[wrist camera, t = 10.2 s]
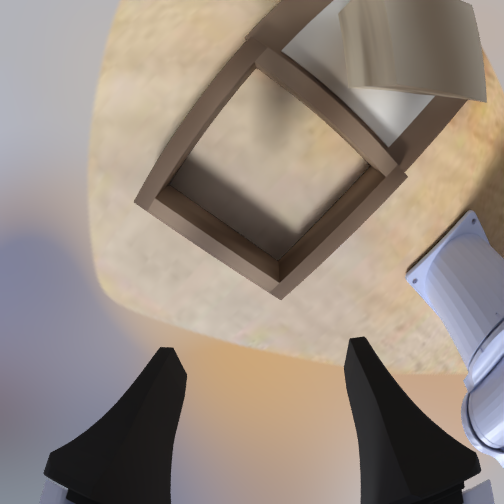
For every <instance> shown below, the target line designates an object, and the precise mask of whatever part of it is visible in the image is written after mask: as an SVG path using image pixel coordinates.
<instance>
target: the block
mask: <svg viewBox="0 0 504 504" xmlns="http://www.w3.org/2000/svg"><path fill="white" fill-rule="evenodd" d="M338 16H339V22H340V27H341V33H342V40H343V46H344V54H345V61H346V69H347V79H348V88H357V89H374V90H387V91H397V92H405V93H413V94H420V95H433V96H444V97H453V98H461V99H468V100H474V101H480V102H486V103H487V98H486V82H485V71H484V63H483V55H482V49H481V43H480V37H479V32H478V28H477V23H476V19H475V15H474V11H473V8H472V5H470V4H468V3H466V2H463V1H461V0H351V1H350V2H349V3H348V4H347V5H346V6H345V7H344V8H343V9H342V10H341V11H340V12H339V13H338Z"/></svg>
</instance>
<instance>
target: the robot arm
mask: <svg viewBox="0 0 504 504" xmlns="http://www.w3.org/2000/svg"><path fill="white" fill-rule="evenodd" d="M472 220H473V221H472ZM405 278H406V280H407V282H408V283H409V284H410V285H411V286H412V287H413V288H414V289H415V290H416V291H417V293H418V294H419V295H420V296H421V297H422V298H423V299H424V300H425V301H426V303H427V304H428V305H429V306H430V307H431V308H432V309H433V310H434V312H435V313H436V314H437V315H438V316H439V317H440V319H441V320H442V322H443V323H444V325H445V327H446V329H447V331H448V332H449V334H450V336H451V338H452V340H453V342H454V344H455V345H456V347H457V349H458V351H459V353H460V355H461V357H462V359H463V361H464V363H465V365H466V367H467V370H468V372H469V373H468V375H467V376H466V378H465V379H464V383H465V385H466V388H467V390H468V392H467V393H466V395H465V397H464V399H463V403H462V408H461V418H462V425H463V428H464V431H465V434H466V436H467V438H468V439H469V441H470V442H471V444H472V445H473V446H474V447H475V448H476V449H477V450H479V451H480V452H482V453H485V454H488V455H490V456H492V457H494V458H495V459H496V460H497V461H498V462H499V463H500V464H501V466H502V467H503V468H504V259H503V258H502V257H501V256H500V255H499V254H498V253H497V252H496V251H495V250H494V249H493V248H492V247H491V246H490V243H489V241H488V239H487V237H486V234H485V232H484V230H483V228H482V226H481V224H480V222H479V220H478V217H477V215H476V214H475V212H474V211H473V210H468V211H467V212H466V213H465V215H464V216H463V217H462V218H461V219H460V220H459V221H458V222H457V223H456V225H455V226H454V227H453V228H452V229H451V230H450V231H449V232H448V233H447V234H446V235H445V236H444V237H443V238H442V239H441V240H440V241H439V242H438V243H437V244H436V245H435V246H434V247H433V248H432V249H431V250H430V251H429V252H428V253H427V254H426V255H425V256H424V257H423V258H422V259H421V260H420V261H419V262H418V263H417V264H416V265H415V266H414V267H413V268H412V269H411V270H409V271H408V272H407V274H406V276H405ZM415 278H416V279H415ZM413 279H415V280H413ZM344 373H345V380H346V388H347V393H348V397H349V401H350V406H351V410H352V413H353V418H354V422H355V427H356V431H357V437H358V444H359V455H360V470H361V504H494V498H493V493H492V487H491V482H490V480H486V481H484V482H482V483H480V484H479V485H477V486H475V487H473V488H471V489H468V490H466V491H463V492H462V490H461V489H463V488H464V487H465V486H464V481H465V480H467V479H469V478H471V477H473V476H475V475H477V474H479V473H480V472H481V467H480V463H479V459H478V457H477V454H476V452H474V451H472V450H470V449H469V448H467V447H466V446H464V445H462V444H461V443H459V442H458V441H457V440H455V439H454V438H453V437H451V436H450V435H448V434H447V433H446V432H445V431H444V430H442V429H441V428H440V427H439V426H438V425H436V424H435V423H434V422H433V421H431V419H430V418H429V417H427V416H426V415H425V414H424V413H423V412H422V411H421V410H420V409H419V408H418V407H417V406H416V405H415V404H414V402H413V401H412V400H411V399H410V398H409V397H408V396H407V394H406V393H405V392H404V391H403V390H402V388H401V387H400V386H399V385H398V383H397V382H396V381H395V380H394V378H393V377H392V376H391V374H390V373H389V372H388V370H387V369H386V367H385V366H384V365H383V363H382V362H381V360H380V359H379V357H378V356H377V354H376V353H375V351H374V350H373V348H372V347H371V345H370V344H369V342H368V340H367V339H366V338H365V337H357V338H350V339H349V345H348V350H347V355H346V360H345V365H344ZM186 380H187V374H186V372H185V370H184V368H183V366H182V364H181V362H180V360H179V358H178V357H177V354H176V352H175V350H174V348H169V347H167V348H165V347H160V348H159V350H158V351H157V352H156V353H155V355H154V356H153V357H152V359H151V360H150V362H149V363H148V364H147V366H146V367H145V368H144V370H143V371H142V372H141V374H140V375H139V376H138V377H137V379H136V380H135V381H134V383H133V384H132V385H131V386H130V388H129V389H128V390H127V391H126V392H125V394H124V395H123V396H122V397H121V398H120V400H119V401H118V402H117V403H116V404H115V405H114V406H113V407H112V408H111V409H110V410H109V411H108V412H107V413H106V414H105V415H104V416H103V417H102V418H101V419H100V420H99V421H97V422H96V423H95V424H94V425H93V426H91V427H90V428H89V429H88V430H87V431H85V432H84V433H82V434H81V435H80V436H78V437H77V438H75V439H74V440H72V441H71V442H69V443H68V444H66V445H64V446H62V447H61V448H59V449H57V450H55V451H53V452H51V453H50V455H49V458H48V461H47V464H46V467H45V470H44V475H45V476H47V477H48V478H50V479H52V480H53V481H55V482H57V483H59V484H61V485H63V486H64V487H66V488H68V490H67V489H65V488H62V487H60V486H59V485H57V484H55V483H53V482H51V481H49V480H46V481H45V484H44V488H43V491H42V495H41V499H40V502H39V504H171V494H170V486H171V484H170V483H171V482H170V481H171V463H172V451H173V444H174V438H175V434H176V430H177V426H178V422H179V418H180V413H181V409H182V405H183V401H184V397H185V390H186Z"/></svg>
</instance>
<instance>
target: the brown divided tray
mask: <svg viewBox="0 0 504 504" xmlns="http://www.w3.org/2000/svg"><path fill="white" fill-rule="evenodd" d="M350 1H351V0H282V1H281V2H280V3H279V4H278V5H277V6H276V7H274V8H273V9H272V10H271V11H270V12H269V13H268V14H267V15H266V16H265V17H264V18H263V19H262V20H261V21H260V22H259V23H258V24H257V25H256V26H255V27H254V28H253V29H252V31H251V32H250V33H249V34H248V35H247V36H246V37H245V40H246V42H245V43H244V44H243V45H242V47H241V48H240V49H239V50H238V51H237V52H236V53H235V55H234V56H233V57H232V58H231V59H230V60H229V62H228V63H227V64H226V65H225V66H224V68H223V69H222V70H221V71H220V72H219V74H218V75H217V76H216V77H215V79H214V80H213V81H212V82H211V84H210V85H209V86H208V88H207V89H206V90H205V91H204V93H203V94H202V95H201V97H200V98H199V99H198V101H197V102H196V103H195V105H194V106H193V108H192V109H191V110H190V112H189V113H188V115H187V116H186V117H185V119H184V120H183V122H182V123H181V125H180V126H179V128H178V129H177V131H176V132H175V134H174V135H173V137H172V138H171V140H170V141H169V143H168V144H167V146H166V147H165V149H164V151H163V152H162V154H161V155H160V157H159V159H158V160H157V162H156V164H155V165H154V167H153V169H152V170H151V172H150V174H149V175H148V177H147V179H146V181H145V182H144V184H143V186H142V188H141V189H140V191H139V193H138V195H137V197H136V199H135V200H134V203H136V204H137V205H139V206H140V207H141V208H143V209H144V210H146V211H147V212H149V213H150V214H152V215H153V216H154V217H156V218H157V219H159V220H160V221H162V222H163V223H165V224H166V225H168V226H169V227H170V228H172V229H173V230H175V231H176V232H178V233H179V234H181V235H182V236H184V237H185V238H187V239H188V240H190V241H191V242H193V243H194V244H196V245H197V246H199V247H200V248H202V249H203V250H205V251H206V252H208V253H209V254H211V255H212V256H214V257H215V258H217V259H218V260H220V261H221V262H223V263H224V264H226V265H227V266H229V267H230V268H232V269H233V270H235V271H236V272H238V273H239V274H241V275H242V276H244V277H246V278H247V279H249V280H250V281H252V282H253V283H255V284H256V285H258V286H259V287H261V288H263V289H264V290H266V291H267V292H269V293H270V294H272V295H273V296H275V297H277V298H278V299H280V300H282V299H283V298H284V297H285V296H286V295H287V294H289V293H290V292H291V291H292V290H293V289H294V288H295V287H296V286H297V285H299V284H300V283H301V282H302V281H303V280H304V279H305V278H306V277H307V276H308V275H310V274H311V273H312V272H313V271H314V270H315V269H316V268H317V267H318V266H319V265H320V264H321V263H322V262H324V261H325V260H326V259H327V258H328V257H329V256H330V255H331V254H332V253H333V252H334V251H335V250H336V249H337V248H338V247H339V246H340V245H341V244H342V243H344V242H345V241H346V240H347V239H348V238H349V237H350V236H351V235H352V234H353V233H354V232H355V231H356V230H357V229H358V228H359V227H360V226H361V225H362V224H363V223H364V222H365V221H366V220H367V219H368V218H369V217H370V216H371V215H372V214H373V213H374V212H375V211H376V210H377V209H378V208H379V207H380V206H381V205H382V204H383V203H384V202H385V201H386V200H387V198H388V197H389V196H390V195H391V194H392V193H393V192H394V191H395V190H396V189H397V188H398V187H399V186H400V185H401V184H402V183H403V182H404V181H405V179H406V178H407V177H408V176H407V175H406V174H405V173H404V172H405V171H406V170H407V169H408V168H409V167H410V166H411V165H412V164H413V163H414V161H415V160H416V159H417V158H418V157H419V156H420V155H421V154H422V153H423V151H424V150H425V149H426V148H427V147H428V146H429V145H430V144H431V142H432V141H433V140H434V139H435V138H436V137H437V136H438V134H439V133H440V132H441V131H442V130H443V129H444V127H445V126H446V125H447V124H448V123H449V122H450V120H451V119H452V118H453V117H454V116H455V114H456V113H457V112H458V111H459V110H460V108H461V107H462V106H463V105H464V103H465V102H466V101H467V100H468V99H461V98H453V97H444V96H433V95H420V94H413V93H405V92H397V91H387V90H374V89H357V88H348V79H347V69H346V61H345V54H344V46H343V40H342V33H341V27H340V22H339V16H338V13H339V12H340V11H341V10H342V9H343V8H344V7H345V6H346V5H347V4H348V3H349V2H350ZM256 68H257V69H259V70H260V71H262V72H263V73H265V74H266V75H267V76H269V77H270V78H271V79H273V80H274V81H276V82H277V83H278V84H280V85H281V86H282V87H284V88H285V89H286V90H287V91H289V92H290V93H291V94H293V95H294V96H295V97H296V98H298V99H299V100H300V101H301V102H303V103H304V104H305V105H306V106H307V107H309V108H310V109H311V110H312V111H313V112H314V113H316V114H317V115H318V116H319V117H320V118H321V119H323V120H324V121H325V122H326V123H327V124H328V125H329V126H330V127H332V128H333V129H334V130H335V131H336V132H337V133H338V134H339V135H340V136H341V137H342V138H343V139H344V140H345V141H347V142H348V143H349V144H350V145H351V146H352V147H353V148H354V149H355V150H356V151H357V152H358V153H359V154H360V155H361V156H362V157H363V158H364V159H365V160H366V161H367V162H368V163H369V164H370V167H369V168H368V169H367V170H366V171H365V173H364V174H363V175H362V176H361V177H360V178H359V179H358V180H357V181H356V182H355V183H354V184H353V185H352V186H351V187H350V188H349V189H348V190H347V192H346V193H345V194H344V195H343V196H342V197H341V198H340V199H339V200H338V201H337V202H336V203H335V204H334V205H333V206H332V207H331V208H330V209H329V210H328V211H327V212H326V213H325V214H324V215H323V216H322V217H321V218H320V220H319V221H318V222H317V223H316V224H315V225H314V226H313V227H312V228H311V229H310V230H309V231H308V232H307V233H306V234H305V235H304V236H303V237H302V238H301V239H300V240H299V241H298V242H297V243H296V244H295V245H294V246H293V247H292V248H291V249H290V250H289V251H288V252H287V253H286V254H285V255H284V256H283V257H282V258H281V259H280V260H279V261H277V260H276V259H274V258H273V257H272V256H270V255H269V254H267V253H266V252H264V251H263V250H262V249H260V248H259V247H257V246H256V245H254V244H253V243H252V242H250V241H249V240H247V239H246V238H245V237H243V236H242V235H240V234H239V233H237V232H236V231H235V230H233V229H232V228H230V227H229V226H227V225H226V224H225V223H223V222H222V221H220V220H219V219H217V218H216V217H215V216H213V215H212V214H210V213H209V212H207V211H206V210H204V209H203V208H202V207H200V206H199V205H197V204H196V203H194V202H193V201H192V200H190V199H189V198H187V197H186V196H184V195H183V194H181V193H180V192H179V191H177V190H176V189H174V188H173V187H171V186H170V185H169V184H170V182H171V180H172V179H173V177H174V176H175V174H176V173H177V171H178V170H179V168H180V167H181V165H182V164H183V162H184V161H185V159H186V158H187V156H188V155H189V154H190V152H191V151H192V149H193V148H194V146H195V145H196V144H197V142H198V141H199V139H200V138H201V137H202V135H203V134H204V132H205V131H206V130H207V128H208V127H209V126H210V124H211V123H212V122H213V120H214V119H215V118H216V116H217V115H218V114H219V112H220V111H221V110H222V109H223V107H224V106H225V105H226V104H227V102H228V101H229V100H230V99H231V97H232V96H233V95H234V94H235V92H236V91H237V90H238V89H239V87H240V86H241V85H242V84H243V83H244V82H245V80H246V79H247V78H248V77H249V76H250V75H251V73H252V72H253V71H254V70H255V69H256Z"/></svg>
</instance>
